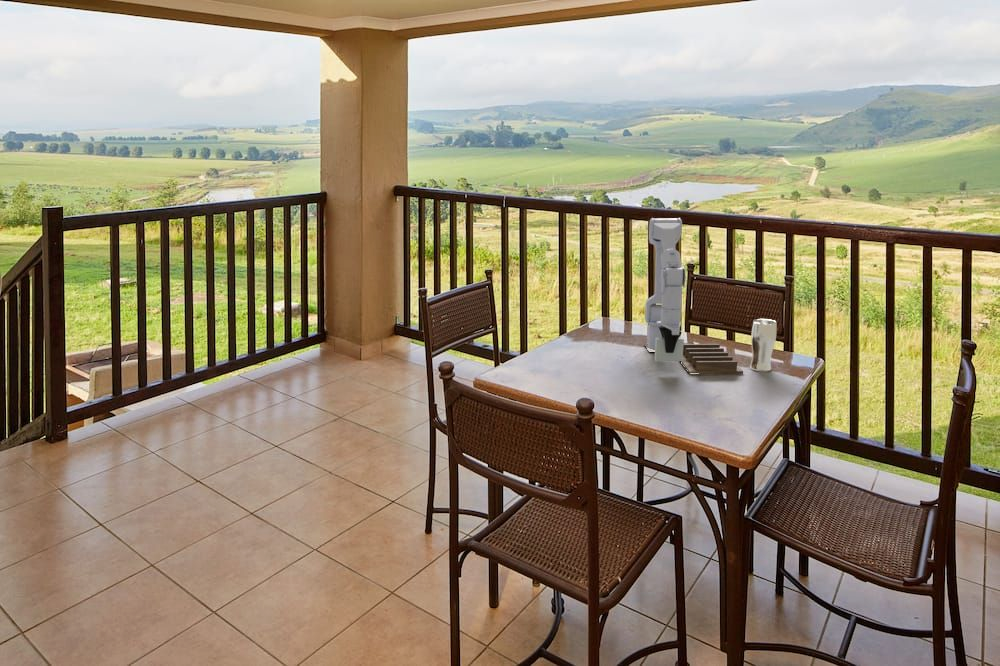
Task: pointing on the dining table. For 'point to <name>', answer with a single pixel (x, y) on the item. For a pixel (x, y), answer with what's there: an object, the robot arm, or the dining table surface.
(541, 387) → the dining table surface
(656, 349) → the tile
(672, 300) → the robot arm
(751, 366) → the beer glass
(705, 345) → the rack
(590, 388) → the dining table surface
